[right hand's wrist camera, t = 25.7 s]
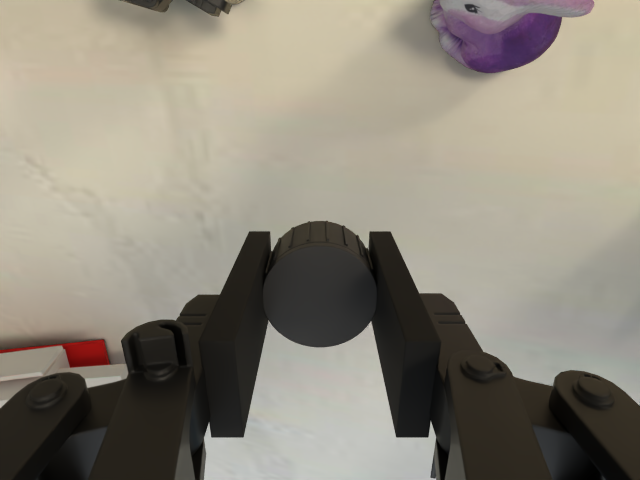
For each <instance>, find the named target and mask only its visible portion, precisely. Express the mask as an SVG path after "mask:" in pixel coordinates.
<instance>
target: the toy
mask: <svg viewBox="0 0 640 480" xmlns="http://www.w3.org/2000/svg"><path fill="white" fill-rule="evenodd" d="M63 372H72V373H77V374H80V375H81V376H82V377H83V378H84V379H85V381H86V385H87V388H89V387H94V386H99V385H103V384H108V383H112V382H116V381H120V380H123V379H126V378H127V375H128V370H127V365H126V364H115V365H110V363H109V359H108V355H107V351H106V347H105V343H104V340H95V341H85V342H75V343H65V344H55V345H46V346H36V347H26V348H16V349H6V350H0V408H1V407H2V406H3V405H4V404H5V403H6V402H7V401H8V400H9V399H10V398H12V397H13V396H14V395H15V394H16V393H17V392H18V391H20V390H21V389H22V388H24V387H25V386H26V385H28V384H29V383H32V382H34V381H36V380H38V379H40V378H42V377H45V376H48V375H51V374H55V373H63Z"/></svg>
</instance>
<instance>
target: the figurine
mask: <svg viewBox="0 0 640 480" xmlns="http://www.w3.org/2000/svg"><path fill="white" fill-rule="evenodd" d="M593 7H594V1H593V0H435V1H434V4H433V5H432V8H431V12H430V20H431V23H432V25H433V26H434V27H435V28H436V29H437V31H438V32H439V41H440V44H441V46H442V48H443V49H444V50H445V51H446V52H447V53H448V54H449V55H451V57H453V58H454V59H456V60H457V61H458V62H459V63H461V64H463V65H464V66H466V67H468V68H470V69H473V70H476V71H478V72H483V73H496V72H501V71H506V70H510V69H514V68H518V67H521V66H523V65H526V64H528V63H530V62H532V61H534V60H535V59H537V58H538V57H540V56H541V55H542V54H543V53H544V52H545V51H546V50H547V49H548V48H549V47H550V46H551V44H552V43H553V42H554V40H555V38H556V37H557V34H558V31H559V29H560V25H561V21H562V17H579V16H583V15H586V14H588V13H590V12H591V10H592V9H593Z"/></svg>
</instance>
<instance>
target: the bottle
mask: <svg viewBox="0 0 640 480" xmlns="http://www.w3.org/2000/svg"><path fill="white" fill-rule="evenodd" d="M225 1H227V2H228V3H229V4H238V3H241V2H242V1H244V0H225Z"/></svg>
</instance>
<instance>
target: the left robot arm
mask: <svg viewBox="0 0 640 480" xmlns="http://www.w3.org/2000/svg"><path fill="white" fill-rule="evenodd" d="M120 1H124V2H127V3H131V4H134V5H138V6H141V7H144V8H148V9H151V10H155V11H158V12H166V11H167V10H168V7H169V4H170V3H171V1H172V0H120ZM187 1H188V2H190V3H192V4H193V5H195V6H197V7H198V8H200V9H202V10H203V11H205V12H207V13H208V14H210V15H212V16H218V17H219V15H220V12H221V10H222V11H223V12H225V13H227V14H229V11H230V9H231V6H232V5H231V4H229V3H228V2H227V1H225V0H187Z"/></svg>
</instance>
